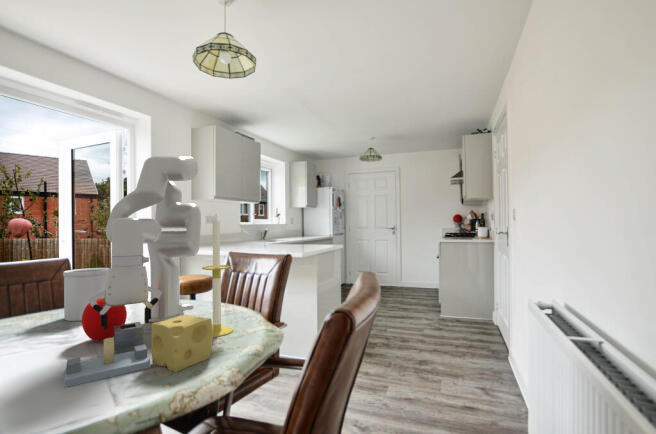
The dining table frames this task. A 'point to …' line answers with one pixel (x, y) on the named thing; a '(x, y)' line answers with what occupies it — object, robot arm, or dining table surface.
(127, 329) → the brushed steel block
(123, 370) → the stand
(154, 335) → the cheese
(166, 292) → the robot arm
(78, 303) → the utensil holder
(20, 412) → the dining table surface
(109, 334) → the tomato
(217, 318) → the yellow disc stand
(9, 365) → the dining table surface
